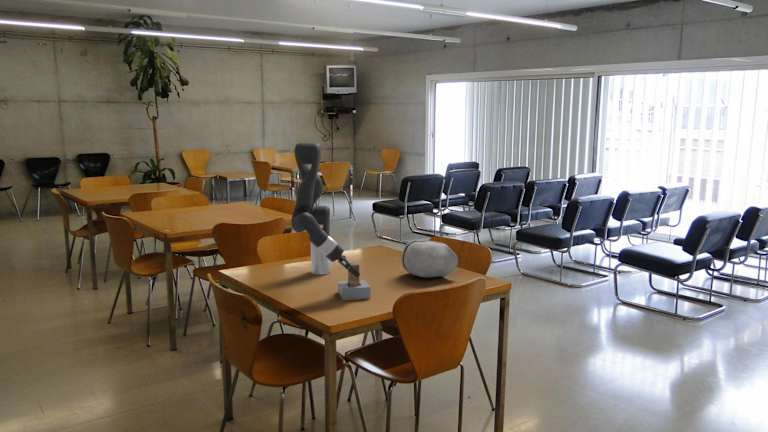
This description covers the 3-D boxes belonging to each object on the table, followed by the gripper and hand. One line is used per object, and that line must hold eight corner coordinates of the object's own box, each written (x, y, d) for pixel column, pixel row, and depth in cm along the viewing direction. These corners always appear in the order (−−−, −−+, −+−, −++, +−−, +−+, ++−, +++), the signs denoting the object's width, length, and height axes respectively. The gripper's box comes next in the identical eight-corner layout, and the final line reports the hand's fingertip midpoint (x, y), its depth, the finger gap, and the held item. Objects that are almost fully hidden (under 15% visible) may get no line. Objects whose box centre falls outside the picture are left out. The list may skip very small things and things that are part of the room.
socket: (337, 292, 267) (337, 281, 266) (364, 290, 270) (364, 279, 269) (342, 300, 255) (342, 288, 255) (370, 298, 258) (370, 287, 257)
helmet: (438, 236, 313) (393, 235, 295) (473, 245, 294) (427, 245, 275) (434, 270, 315) (389, 271, 297) (469, 281, 295) (423, 284, 277)
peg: (348, 294, 264) (348, 262, 262) (357, 293, 265) (357, 262, 263) (350, 296, 260) (350, 265, 258) (359, 296, 261) (359, 264, 259)
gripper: (339, 245, 250) (366, 271, 255) (333, 238, 264) (359, 263, 268) (326, 258, 250) (353, 284, 254) (321, 251, 263) (347, 275, 268)
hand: (356, 273), depth 261 cm, fingers open, 8 cm apart
